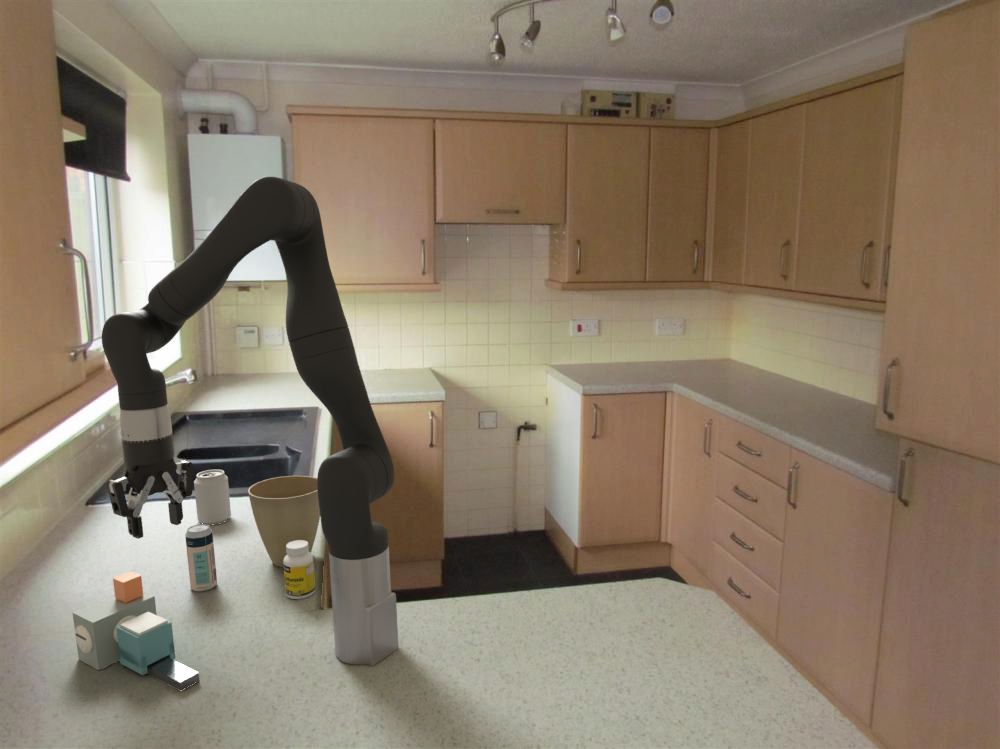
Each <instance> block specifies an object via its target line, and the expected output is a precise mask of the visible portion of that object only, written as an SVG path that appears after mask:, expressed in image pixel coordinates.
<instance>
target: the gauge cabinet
mask: <svg viewBox="0 0 1000 749" xmlns="http://www.w3.org/2000/svg"><path fill="white" fill-rule="evenodd" d="M146 612H150V613H152V614H155V615H157V606H156V598H155V595H153V594H150V593H148V592H146V591H144V590H143V596H141V597H139V598H136V599H134V600H132V601H129V602H127V603H124V602H122V601H120V600H118V599H115V594H114V595H113V596H110V597H107V598H105V599H102V600H100V601H97V602H95V603H93V604H91V605H88V606H85V607H83V608H80V609H78V610H76V611H73V612H72V618H73V625H74V636H75V640H76V641H75V642H76V649H77V658H78V660H79V661H81V662H83V663H84V664H87V665H88V666H90V667H91V666H92V667H91V668H93V669H94V670H96V671H98V670H99V671H101V670H103V669H105V667H106V668H108V667H110V666H111V664H112V665H114V664H116V663H117V662H116V661H118V662H119V660H120V654H119V646H118V638H117V629H116V627H118V626H120V624H122V623H124V622H126V621H128V620H131V619H133V618H135V617H137V616H140V615H142V614H144V613H146ZM157 616H158V615H157ZM115 662H116V663H115ZM113 663H114V664H113ZM109 665H110V666H109ZM107 666H108V667H107ZM100 669H101V670H100Z"/></svg>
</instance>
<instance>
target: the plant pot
mask: <svg viewBox="0 0 1000 749" xmlns="http://www.w3.org/2000/svg"><path fill="white" fill-rule="evenodd" d="M247 494H248V498H249V501H250V502H249V503H250V506H251V510H252V515H253V518H254V521H255V525H256V527H257V530H258V533H259V535H260V538H261V541H262V543H263V546H264V548H265V550H266V552H267V554H268V556H269V558H270V561H271V563H272V564H273V565H274V566H277V567H281V568H282V567H283V568H284V565H283V560H284V557H285V556H286V555H287V552H286V545H287V544H288V543H289V542H292V541H296V540H304V541H307V542H308V546H309V551H308V552H310V553H311V554H312V550H313V547H314V544H315V540H316V536H317V533H318V532H317V531H318V528H319V525H320V524H319V523H320V520H321V517H320V509H319V501H318V492H317V477H314V476H308V475H287V476H285V475H284V476H277V477H272V478H268V479H264V480H262V481H261V480H260V481H258V482H256V483H254V484H252V485H250V486H249V488H248V490H247Z"/></svg>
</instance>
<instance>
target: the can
mask: <svg viewBox="0 0 1000 749" xmlns="http://www.w3.org/2000/svg"><path fill="white" fill-rule="evenodd" d="M195 476H196V478H195V480H193V486H194V487H193V488H194V495H195V496H194V497H195V506H196V515H197V516H196V517H197V522H199V523H201V524H202V523H203V524H206V525H209V526H213V525H212V524H217V525H220V524H219V523H221V524H223V523H222V522H224V521H226V520H227V519H228V520H229V519H230V517H231V516H232V510H231V499H230V497H231V496H230V490H229V489H230V487H229V477H228V476H227V475H226V474H225V471H224V470H223V469H207V470H204V471H200V472H198V473H197V474H196V475H195ZM228 520H227V521H228ZM227 521H226V522H227ZM224 523H225V522H224Z"/></svg>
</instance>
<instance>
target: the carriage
mask: <svg viewBox="0 0 1000 749" xmlns="http://www.w3.org/2000/svg"><path fill="white" fill-rule="evenodd" d="M116 629H117V638H118V646H119V654H120V664H121V665H122V666H125V667H127V668H129V669H130V670H132V671H134V672H136V673H138V674H140V676H144V675H145V674H147V673H148V672H147V666H148V665H150V664H152V663H154V662H156V661H158V660H160V659H161V658H163V657H165V656H167V657H169V658H171V659H173V660H175V659H176V650H175V643H174V631H173V622H172V621H170V620H169V619H166V618H164V617H162V616H159V615H155V614H152V613H150V612H146V613H144V614H142V615H140V616H137V617H135V618H133V619H131V620H128V621H126V622H124V623H122V624H120V626H118V627H116Z"/></svg>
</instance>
